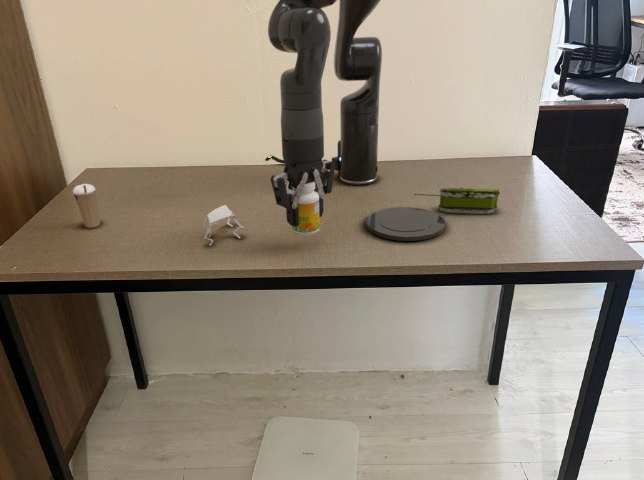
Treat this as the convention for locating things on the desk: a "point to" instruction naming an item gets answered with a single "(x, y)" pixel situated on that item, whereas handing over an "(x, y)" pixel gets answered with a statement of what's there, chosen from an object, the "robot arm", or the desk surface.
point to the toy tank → (468, 200)
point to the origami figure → (218, 216)
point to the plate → (405, 223)
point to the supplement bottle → (308, 211)
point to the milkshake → (87, 204)
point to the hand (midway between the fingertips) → (305, 220)
